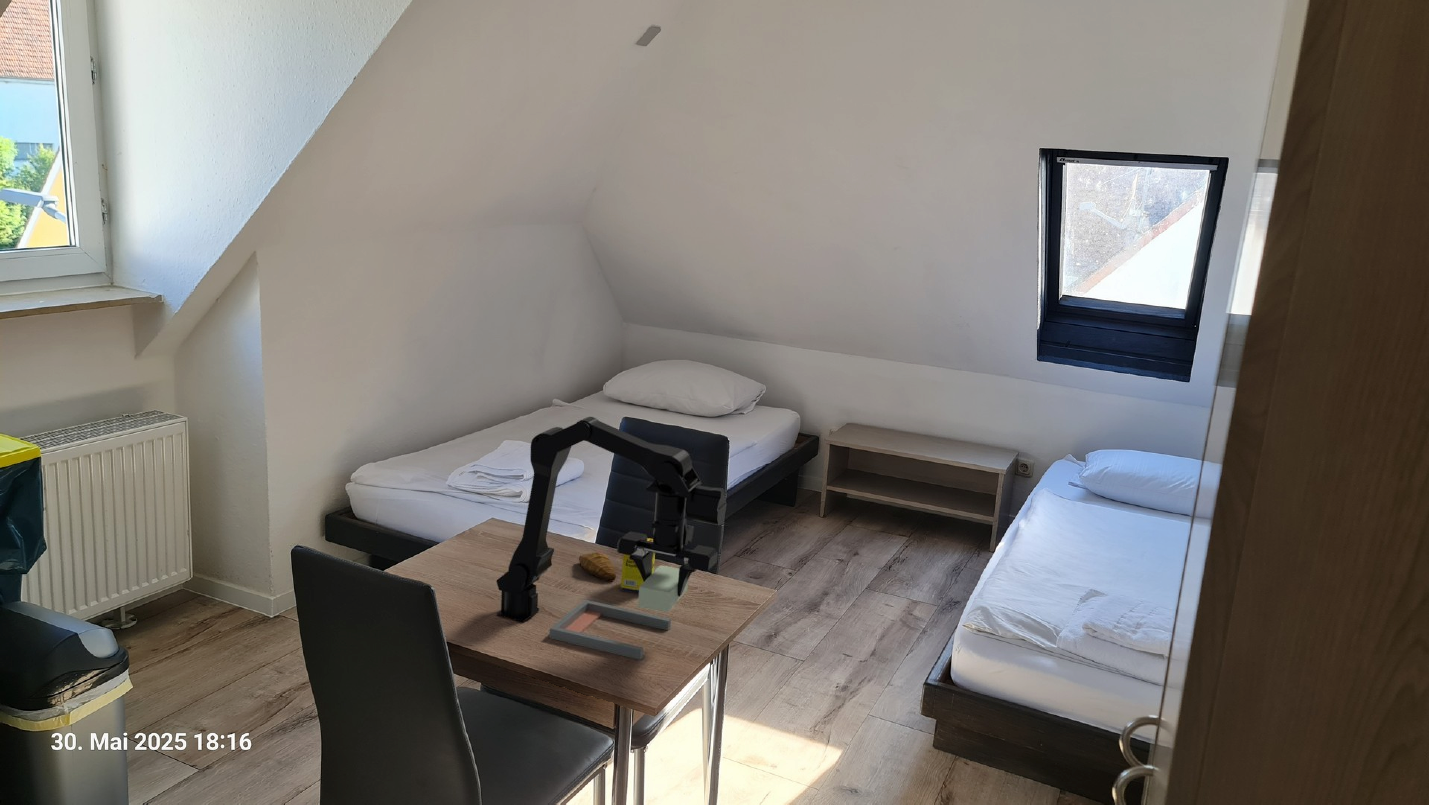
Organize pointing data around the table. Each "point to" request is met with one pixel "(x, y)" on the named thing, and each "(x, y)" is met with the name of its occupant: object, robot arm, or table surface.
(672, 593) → the block
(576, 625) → the channel
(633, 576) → the supplement box
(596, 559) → the croissant
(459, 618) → the table surface
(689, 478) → the robot arm
